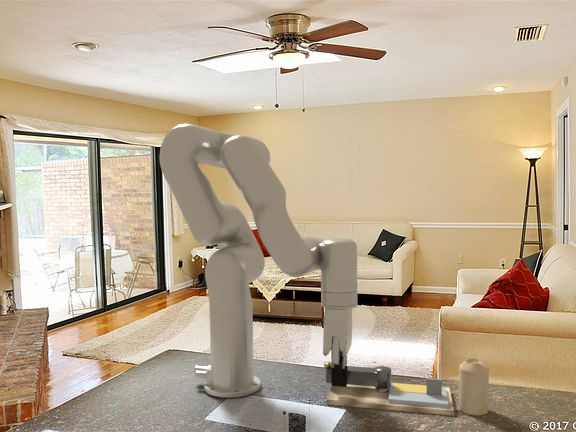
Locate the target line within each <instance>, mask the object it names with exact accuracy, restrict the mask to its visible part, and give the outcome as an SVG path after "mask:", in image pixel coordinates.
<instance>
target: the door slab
mask: <svg viewBox="0 0 576 432" xmlns="http://www.w3.org/2000/svg"><path fill="white" fill-rule="evenodd" d="M442 382H443V379H442V378H434V377H433V378H432V377H426V384H414V383H413V384H412V383H411V384H410V383H398V382H391V386H390V390H389V403H396V404H408V405H420V406H431V407H443V408H448V400H447V394H446V388H445V387H446V386H443V383H442Z"/></svg>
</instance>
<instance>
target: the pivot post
mask: <svg viewBox="0 0 576 432" xmlns="http://www.w3.org/2000/svg"><path fill="white" fill-rule="evenodd" d="M375 390H376V391H377V392H380V393H388V392H389V390H390V388H381V387H375Z"/></svg>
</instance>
